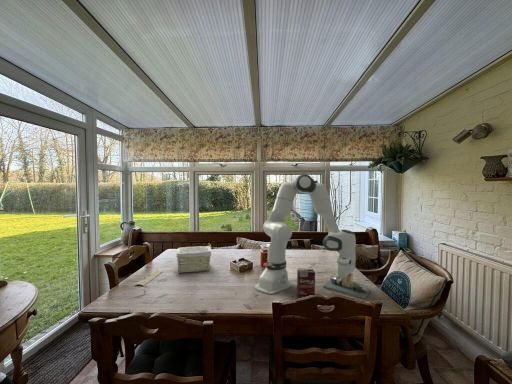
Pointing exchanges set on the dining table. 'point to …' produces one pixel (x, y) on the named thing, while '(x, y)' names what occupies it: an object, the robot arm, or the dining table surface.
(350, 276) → the coupler
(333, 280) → the shaft
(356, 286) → the shaft
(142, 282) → the newspaper
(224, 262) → the dining table surface
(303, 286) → the supplement box
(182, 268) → the storage basket
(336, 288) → the bench plate
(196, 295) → the dining table surface
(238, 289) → the dining table surface
